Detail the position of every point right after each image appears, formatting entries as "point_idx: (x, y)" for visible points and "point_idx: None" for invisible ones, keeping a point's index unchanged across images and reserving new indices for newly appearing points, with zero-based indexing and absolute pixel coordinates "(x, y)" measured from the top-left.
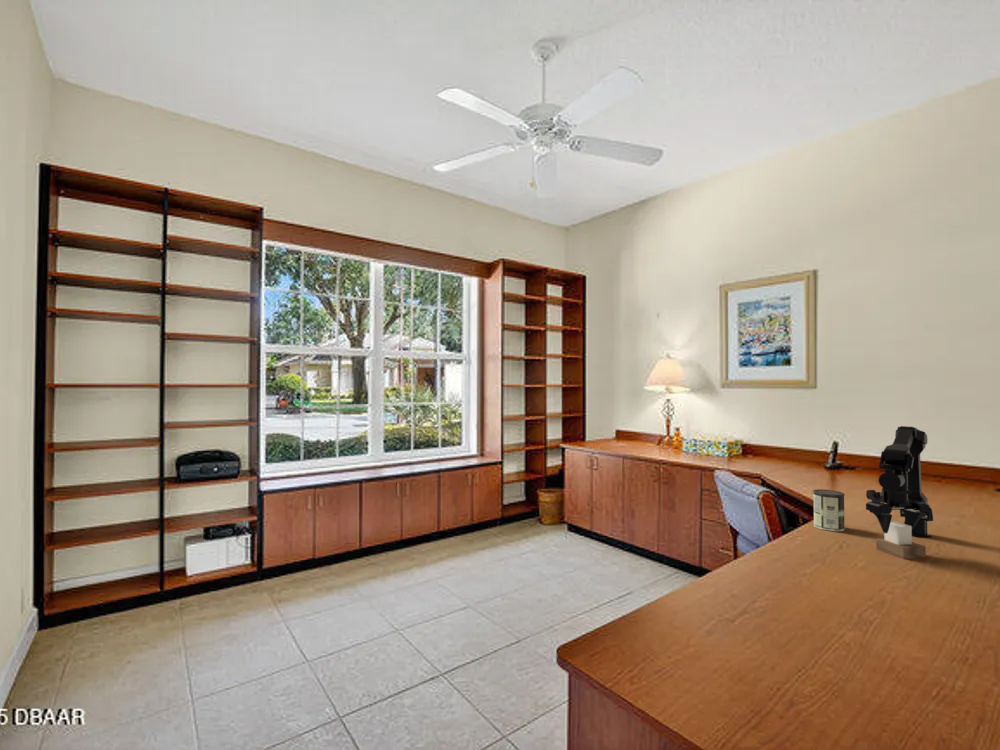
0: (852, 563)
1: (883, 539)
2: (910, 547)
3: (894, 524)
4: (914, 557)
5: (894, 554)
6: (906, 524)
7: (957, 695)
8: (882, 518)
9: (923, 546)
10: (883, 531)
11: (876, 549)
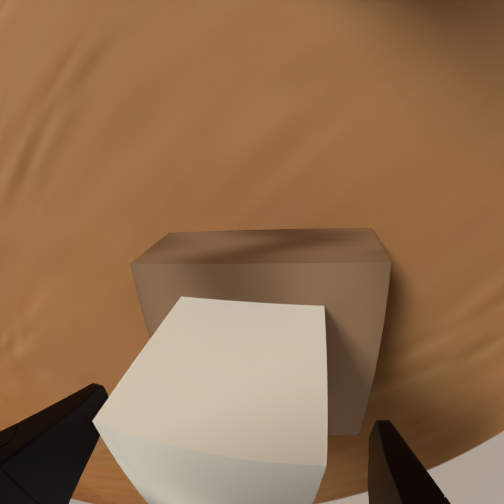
0: (5, 336)
1: (180, 287)
2: None
3: (160, 486)
4: None
5: None
6: (389, 477)
7: None
8: (11, 478)
9: (342, 434)
10: (88, 389)
11: (168, 234)
